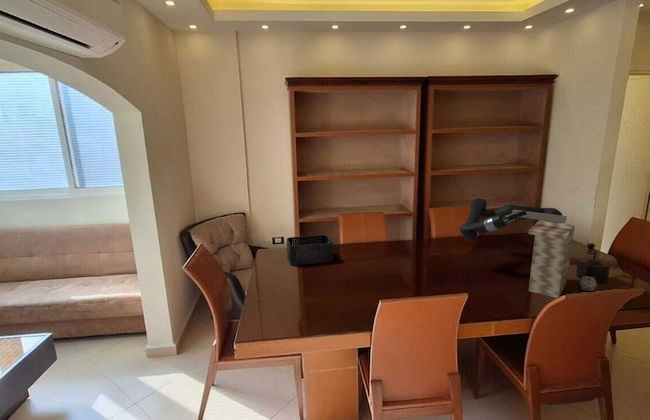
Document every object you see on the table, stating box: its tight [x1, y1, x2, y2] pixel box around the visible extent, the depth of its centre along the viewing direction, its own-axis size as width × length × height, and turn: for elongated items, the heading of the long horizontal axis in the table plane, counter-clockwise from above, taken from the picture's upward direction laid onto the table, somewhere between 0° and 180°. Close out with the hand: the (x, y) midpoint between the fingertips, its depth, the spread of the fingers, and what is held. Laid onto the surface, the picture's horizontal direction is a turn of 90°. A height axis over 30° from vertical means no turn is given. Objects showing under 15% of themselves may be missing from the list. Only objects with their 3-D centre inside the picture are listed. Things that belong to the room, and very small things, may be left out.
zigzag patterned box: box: [527, 220, 576, 299], centre depth 181 cm, size 16×24×32 cm, turn 138°
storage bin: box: [286, 234, 334, 266], centre depth 230 cm, size 29×19×13 cm
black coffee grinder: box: [575, 242, 611, 284], centre depth 191 cm, size 16×11×18 cm
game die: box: [577, 274, 600, 292], centre depth 177 cm, size 9×8×10 cm
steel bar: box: [512, 210, 568, 224], centre depth 179 cm, size 24×3×3 cm, turn 47°
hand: (526, 211), depth 183 cm, fingers closed on steel bar, 3 cm apart
